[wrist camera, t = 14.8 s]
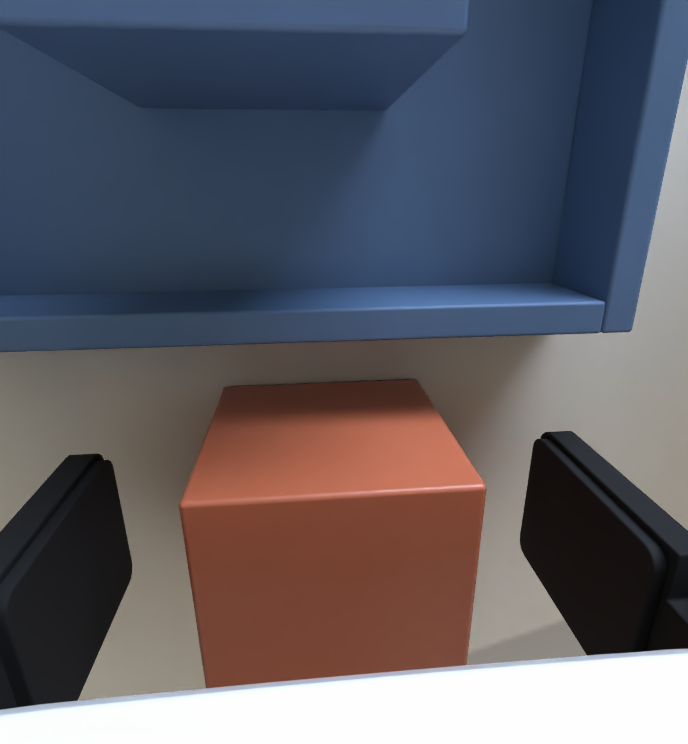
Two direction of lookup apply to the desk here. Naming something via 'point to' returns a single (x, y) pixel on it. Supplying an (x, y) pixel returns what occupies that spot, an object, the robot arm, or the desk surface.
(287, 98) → the blue block
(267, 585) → the terracotta block
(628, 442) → the desk surface
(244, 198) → the blue tray
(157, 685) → the desk surface
